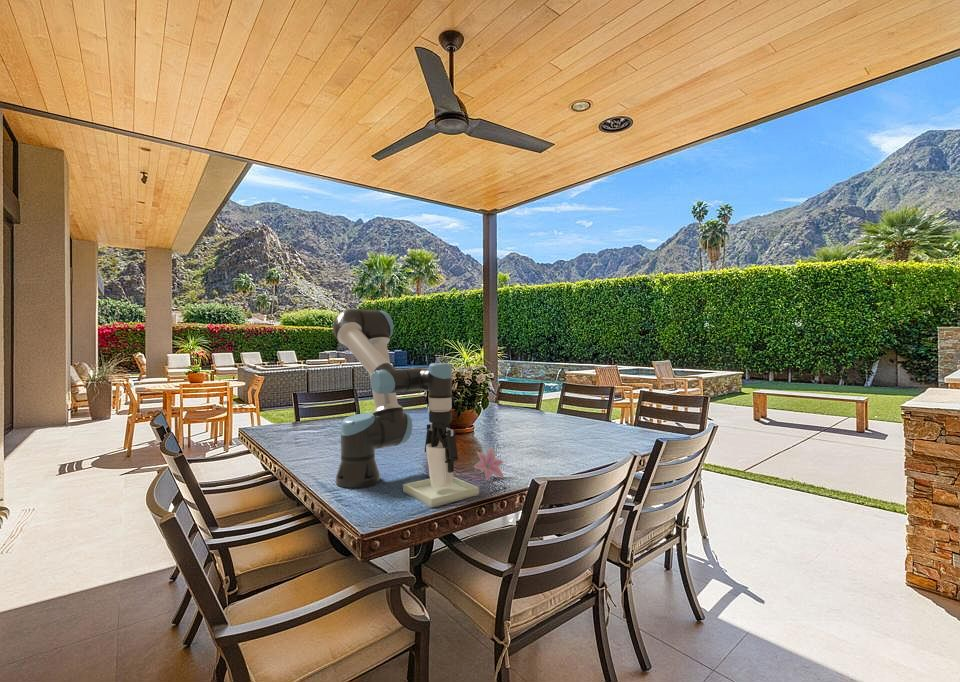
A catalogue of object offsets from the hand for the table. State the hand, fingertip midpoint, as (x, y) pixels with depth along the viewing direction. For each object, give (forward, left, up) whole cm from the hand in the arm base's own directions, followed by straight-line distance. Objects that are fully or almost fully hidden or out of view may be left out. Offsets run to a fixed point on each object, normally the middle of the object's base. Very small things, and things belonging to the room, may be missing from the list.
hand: (440, 478), depth 151 cm
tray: (0, 0, -5) cm, 5 cm away
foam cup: (0, 0, -2) cm, 2 cm away
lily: (+17, +18, -5) cm, 25 cm away
